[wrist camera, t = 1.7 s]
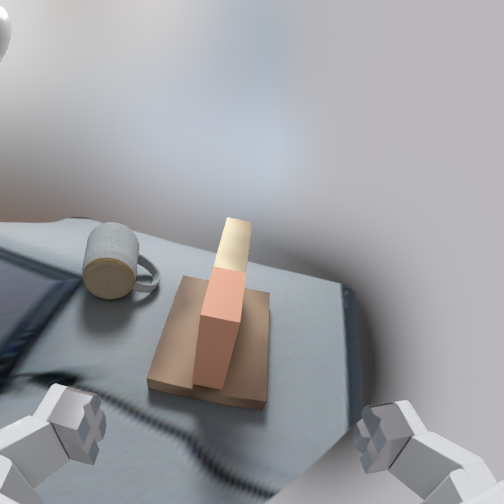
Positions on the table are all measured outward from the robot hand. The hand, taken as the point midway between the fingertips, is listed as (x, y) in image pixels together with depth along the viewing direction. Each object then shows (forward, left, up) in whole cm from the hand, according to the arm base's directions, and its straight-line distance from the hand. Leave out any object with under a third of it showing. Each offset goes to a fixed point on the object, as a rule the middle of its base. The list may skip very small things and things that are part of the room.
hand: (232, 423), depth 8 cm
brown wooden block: (-1, +20, -20) cm, 29 cm away
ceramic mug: (-15, +27, -21) cm, 37 cm away
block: (-1, +15, -18) cm, 24 cm away
